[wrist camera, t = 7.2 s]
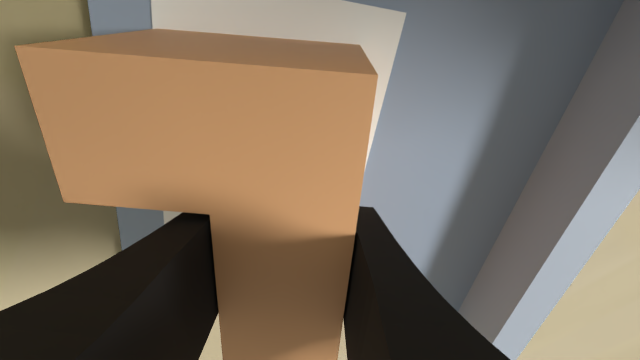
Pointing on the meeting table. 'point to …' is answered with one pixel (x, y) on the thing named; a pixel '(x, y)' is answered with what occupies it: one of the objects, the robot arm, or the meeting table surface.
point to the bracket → (223, 161)
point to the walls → (566, 196)
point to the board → (421, 104)
